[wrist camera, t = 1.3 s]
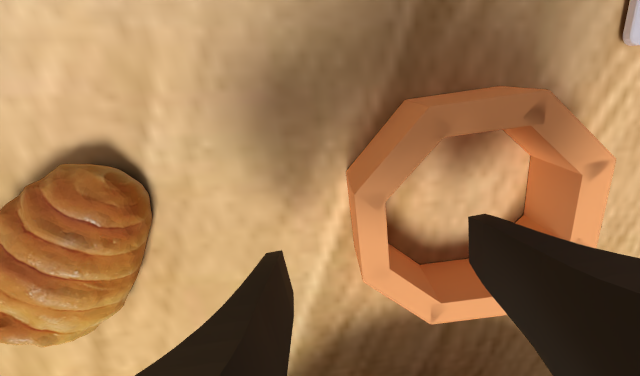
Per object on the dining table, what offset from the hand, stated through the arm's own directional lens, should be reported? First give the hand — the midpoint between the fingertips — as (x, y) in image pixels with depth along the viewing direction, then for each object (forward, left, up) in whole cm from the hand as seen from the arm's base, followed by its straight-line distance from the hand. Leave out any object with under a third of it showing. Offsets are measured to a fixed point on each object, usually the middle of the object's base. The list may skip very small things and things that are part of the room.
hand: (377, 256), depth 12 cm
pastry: (+15, 0, -5) cm, 15 cm away
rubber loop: (-5, 0, -4) cm, 6 cm away
